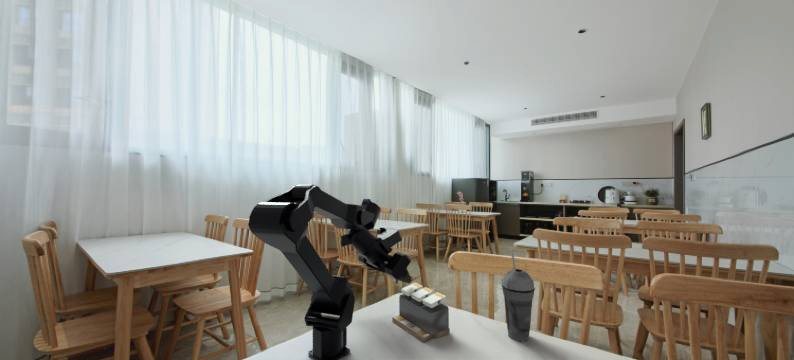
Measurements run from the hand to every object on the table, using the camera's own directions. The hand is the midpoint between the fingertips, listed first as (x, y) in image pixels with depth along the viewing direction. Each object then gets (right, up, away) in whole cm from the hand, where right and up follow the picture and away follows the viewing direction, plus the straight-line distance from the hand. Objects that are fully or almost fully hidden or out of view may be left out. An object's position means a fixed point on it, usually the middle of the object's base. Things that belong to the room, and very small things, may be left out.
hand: (400, 277), depth 85 cm
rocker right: (+8, -2, -12) cm, 15 cm away
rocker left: (+3, -2, -4) cm, 6 cm away
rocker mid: (+5, -2, -8) cm, 10 cm away
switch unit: (+5, -9, -9) cm, 14 cm away
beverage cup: (+27, -9, -14) cm, 32 cm away
